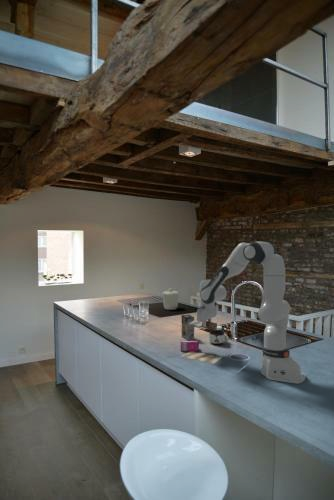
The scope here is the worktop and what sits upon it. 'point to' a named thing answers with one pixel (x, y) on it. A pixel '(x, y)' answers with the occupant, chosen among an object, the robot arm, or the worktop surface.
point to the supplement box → (189, 345)
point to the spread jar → (218, 336)
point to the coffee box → (187, 327)
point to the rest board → (202, 357)
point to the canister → (170, 299)
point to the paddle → (198, 324)
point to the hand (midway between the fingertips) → (206, 326)
